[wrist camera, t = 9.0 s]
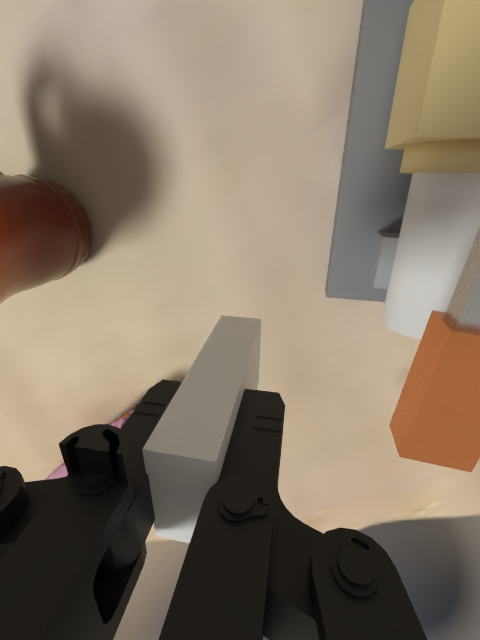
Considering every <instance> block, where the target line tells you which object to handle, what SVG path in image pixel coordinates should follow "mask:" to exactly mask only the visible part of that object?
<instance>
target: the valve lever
mask: <svg viewBox="0 0 480 640" xmlns="http://www.w3.org/2000/svg"><path fill="white" fill-rule="evenodd" d="M390 428H391V431H392V435H393V438H394V441H395V444H396V447H397V450H398V453H399V457H403V458H408V459H412V460H417V461H422V462H426V463H431V464H436V465H440V466H445V467H449V468H454V469H459V470H463V471H468V472H472V470H473V469H474V467H475V465H476V463H477V461H478V459H479V458H480V227H479V230H478V232H477V235H476V237H475V240H474V242H473V245H472V248H471V250H470V253H469V255H468V258H467V260H466V263H465V265H464V268H463V270H462V273H461V276H460V278H459V281H458V283H457V286H456V288H455V291H454V293H453V296H452V299H451V301H450V304H449V306H448V309H447V311H446V312H441V311H435V310H432V312H431V315H430V317H429V320H428V323H427V325H426V328H425V331H424V333H423V336H422V339H421V342H420V344H419V347H418V350H417V352H416V355H415V358H414V360H413V363H412V366H411V368H410V371H409V374H408V377H407V379H406V382H405V385H404V387H403V390H402V393H401V395H400V398H399V401H398V404H397V406H396V409H395V412H394V414H393V417H392V420H391V422H390Z"/></svg>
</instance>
